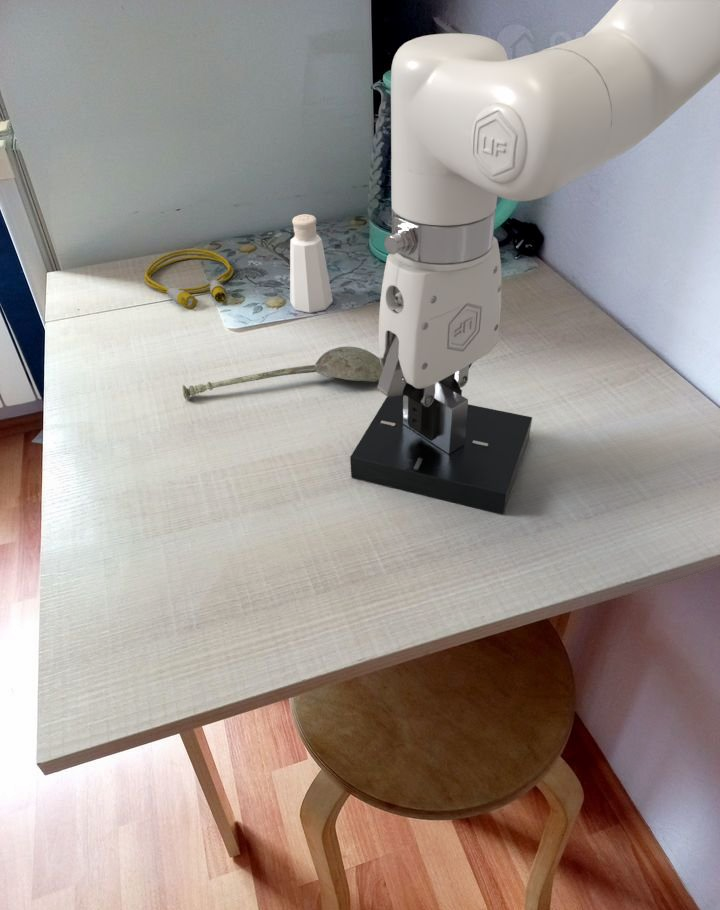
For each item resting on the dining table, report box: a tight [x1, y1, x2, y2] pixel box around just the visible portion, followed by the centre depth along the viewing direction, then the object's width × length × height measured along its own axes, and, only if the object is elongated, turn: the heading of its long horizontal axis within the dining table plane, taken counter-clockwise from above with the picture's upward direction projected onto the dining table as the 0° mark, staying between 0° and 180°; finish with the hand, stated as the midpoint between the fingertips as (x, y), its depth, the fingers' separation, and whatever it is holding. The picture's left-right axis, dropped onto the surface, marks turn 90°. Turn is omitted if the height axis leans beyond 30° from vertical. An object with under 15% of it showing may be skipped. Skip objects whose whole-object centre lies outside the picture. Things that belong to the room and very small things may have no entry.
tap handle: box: [403, 382, 469, 454], centre depth 63 cm, size 6×2×5 cm, turn 41°
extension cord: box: [144, 248, 235, 310], centre depth 94 cm, size 12×16×2 cm
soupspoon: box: [181, 346, 383, 402], centre depth 75 cm, size 22×3×7 cm
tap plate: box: [349, 396, 533, 515], centre depth 65 cm, size 14×11×3 cm
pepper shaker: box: [289, 213, 334, 314], centre depth 86 cm, size 5×5×11 cm
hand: (433, 424), depth 64 cm, fingers closed on tap handle, 2 cm apart
